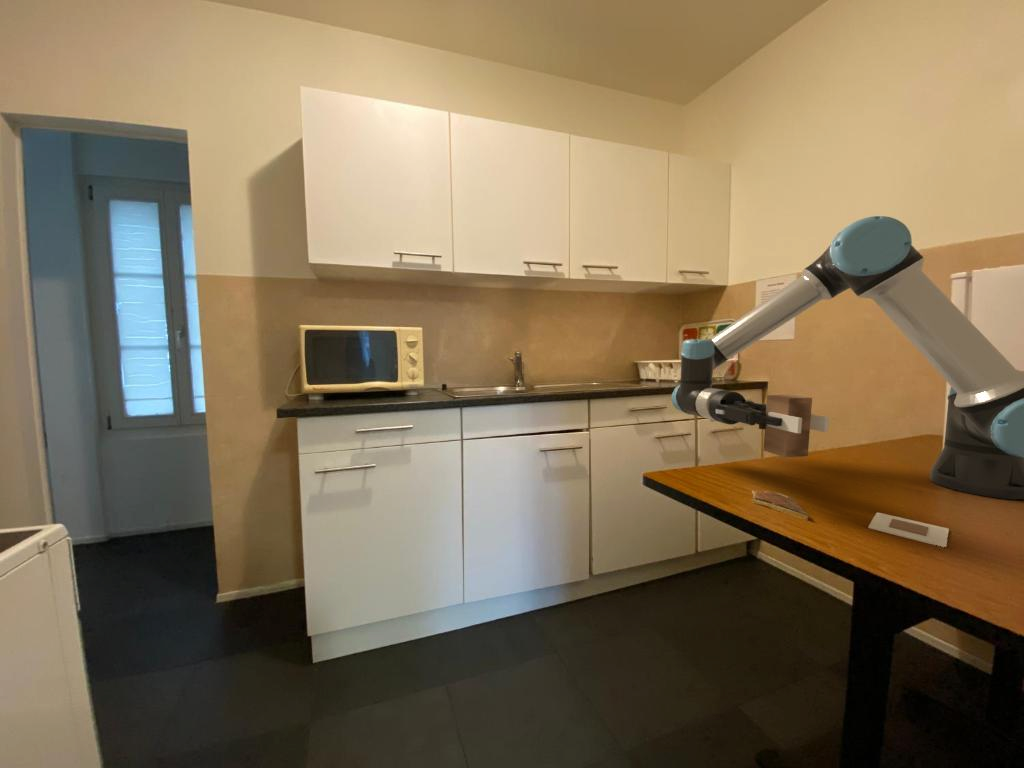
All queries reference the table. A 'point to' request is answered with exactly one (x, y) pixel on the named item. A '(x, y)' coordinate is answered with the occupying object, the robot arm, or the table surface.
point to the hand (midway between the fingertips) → (813, 425)
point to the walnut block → (786, 440)
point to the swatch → (910, 529)
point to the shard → (779, 503)
